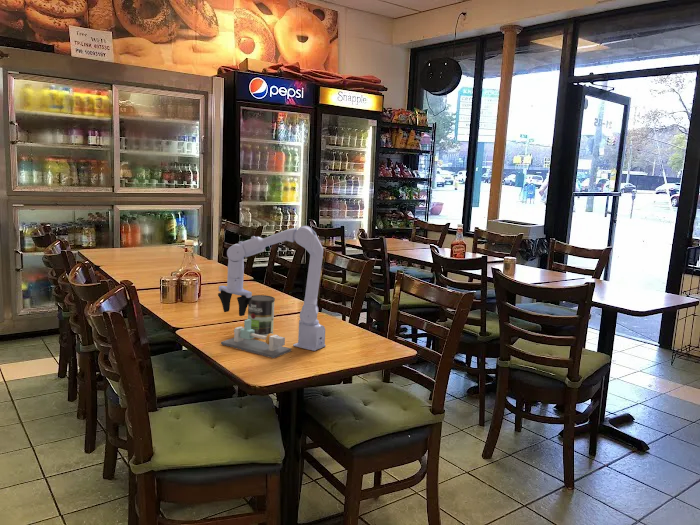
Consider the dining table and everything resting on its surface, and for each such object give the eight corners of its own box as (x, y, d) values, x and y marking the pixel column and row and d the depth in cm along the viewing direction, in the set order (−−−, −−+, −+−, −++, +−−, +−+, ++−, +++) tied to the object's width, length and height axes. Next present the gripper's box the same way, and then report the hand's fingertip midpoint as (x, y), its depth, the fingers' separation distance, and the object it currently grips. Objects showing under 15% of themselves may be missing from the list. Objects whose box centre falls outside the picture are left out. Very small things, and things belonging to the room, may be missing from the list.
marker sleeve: (254, 337, 202) (254, 320, 201) (248, 339, 199) (249, 321, 198) (245, 335, 204) (246, 318, 203) (240, 337, 201) (240, 319, 200)
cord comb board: (291, 351, 198) (291, 333, 197) (273, 358, 190) (274, 339, 189) (239, 338, 210) (240, 321, 209) (220, 344, 202) (221, 327, 201)
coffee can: (263, 338, 212) (264, 302, 210) (241, 333, 217) (242, 298, 215) (278, 332, 221) (280, 297, 219) (257, 327, 226) (258, 293, 224)
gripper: (212, 275, 202) (211, 311, 204) (242, 281, 195) (241, 319, 197) (226, 273, 208) (225, 308, 210) (256, 279, 201) (254, 315, 203)
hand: (234, 313), depth 204 cm, fingers open, 7 cm apart
